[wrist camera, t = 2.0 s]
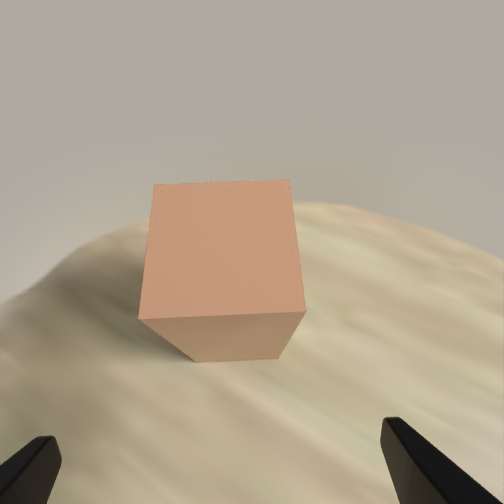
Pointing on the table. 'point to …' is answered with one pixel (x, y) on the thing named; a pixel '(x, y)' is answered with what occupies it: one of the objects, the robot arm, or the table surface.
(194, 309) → the peach colored post
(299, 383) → the table surface
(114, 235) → the table surface
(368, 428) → the table surface
